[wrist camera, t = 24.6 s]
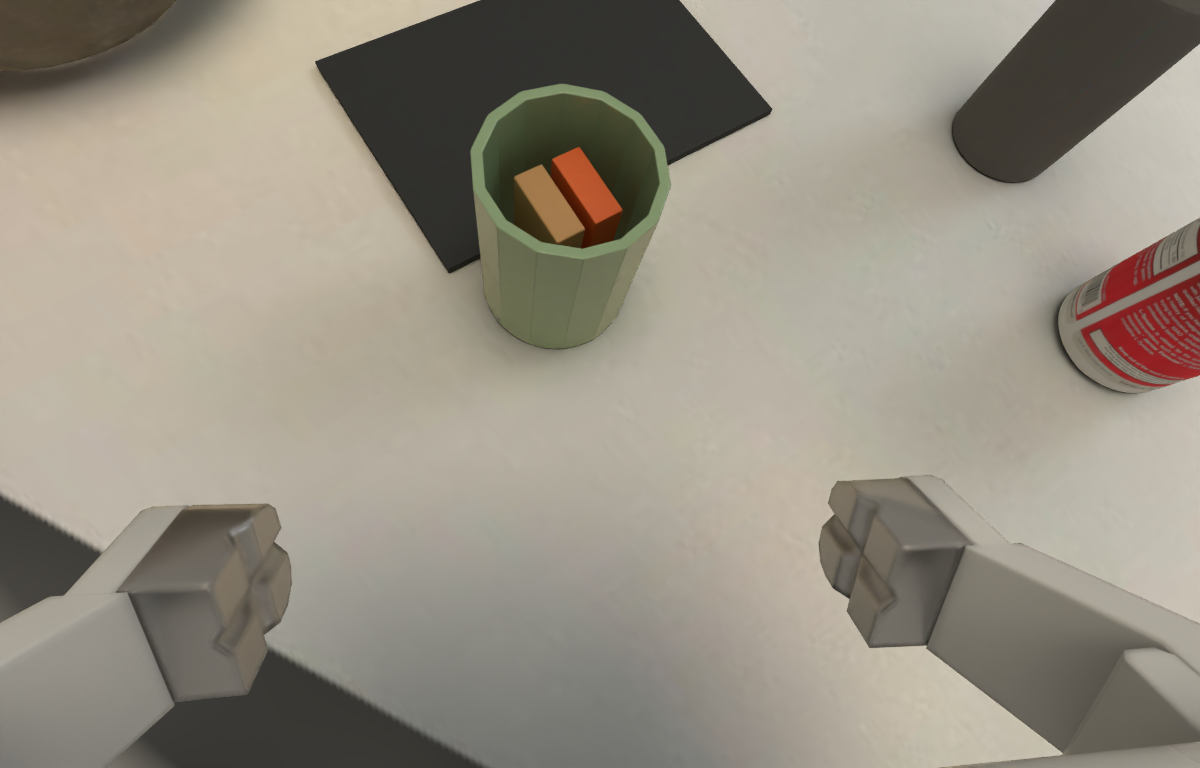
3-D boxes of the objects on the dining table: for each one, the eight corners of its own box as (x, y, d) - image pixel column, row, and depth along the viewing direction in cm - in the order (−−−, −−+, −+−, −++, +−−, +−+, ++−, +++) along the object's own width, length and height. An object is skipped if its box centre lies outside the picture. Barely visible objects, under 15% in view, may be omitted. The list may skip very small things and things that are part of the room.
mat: (449, 273, 28) (447, 269, 28) (317, 67, 31) (314, 60, 31) (770, 114, 34) (772, 108, 33) (630, -50, 37) (631, -57, 36)
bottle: (1013, 202, 33) (1364, -82, 19) (931, 134, 34) (1208, -183, 20) (1065, 147, 35) (1423, -149, 21) (986, 85, 36) (1277, -240, 22)
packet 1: (546, 318, 28) (557, 243, 21) (512, 266, 28) (512, 176, 21) (568, 306, 28) (586, 228, 21) (535, 254, 28) (542, 162, 22)
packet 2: (575, 302, 28) (595, 224, 21) (542, 251, 28) (551, 158, 22) (597, 291, 28) (623, 210, 22) (563, 240, 29) (579, 145, 22)
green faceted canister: (531, 375, 27) (539, 293, 19) (457, 256, 28) (432, 127, 20) (649, 309, 29) (707, 206, 20) (575, 199, 30) (601, 57, 21)
